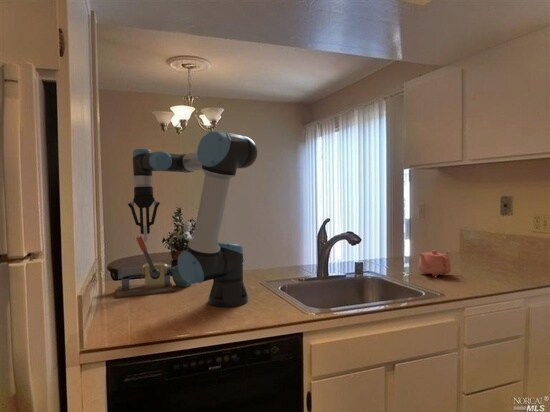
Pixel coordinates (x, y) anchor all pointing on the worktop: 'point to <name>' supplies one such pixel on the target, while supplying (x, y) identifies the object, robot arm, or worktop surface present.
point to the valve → (146, 275)
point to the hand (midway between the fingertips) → (145, 241)
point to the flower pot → (178, 278)
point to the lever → (148, 259)
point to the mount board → (142, 291)
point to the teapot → (434, 263)
